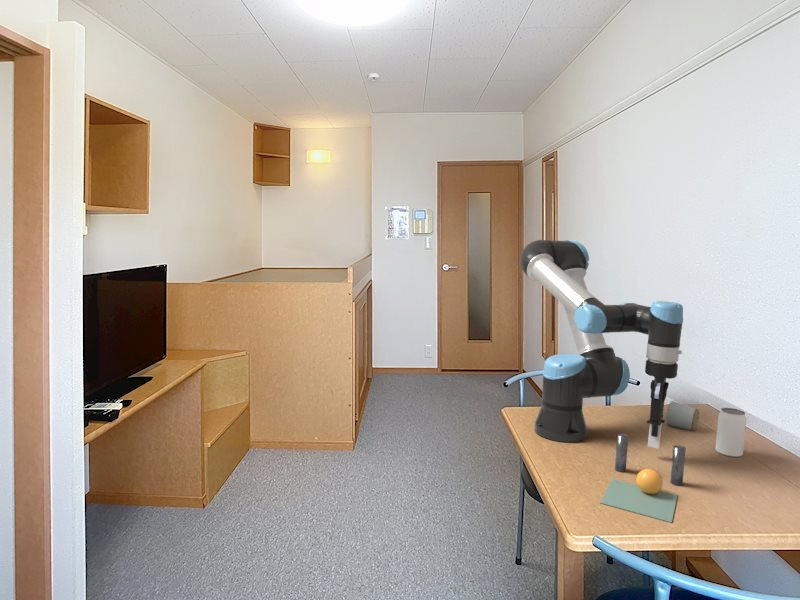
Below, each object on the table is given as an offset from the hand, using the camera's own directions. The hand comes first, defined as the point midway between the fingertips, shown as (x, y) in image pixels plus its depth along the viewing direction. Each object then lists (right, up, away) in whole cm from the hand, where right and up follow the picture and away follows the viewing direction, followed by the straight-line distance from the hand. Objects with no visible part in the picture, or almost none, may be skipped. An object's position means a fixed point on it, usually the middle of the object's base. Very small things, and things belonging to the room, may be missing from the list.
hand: (653, 446), depth 138 cm
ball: (-11, -2, -20) cm, 23 cm away
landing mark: (-14, -5, -23) cm, 27 cm away
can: (+23, -3, +5) cm, 24 cm away
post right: (-2, -5, -14) cm, 15 cm away
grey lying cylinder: (+22, -1, +26) cm, 34 cm away
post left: (-12, -4, -8) cm, 15 cm away
